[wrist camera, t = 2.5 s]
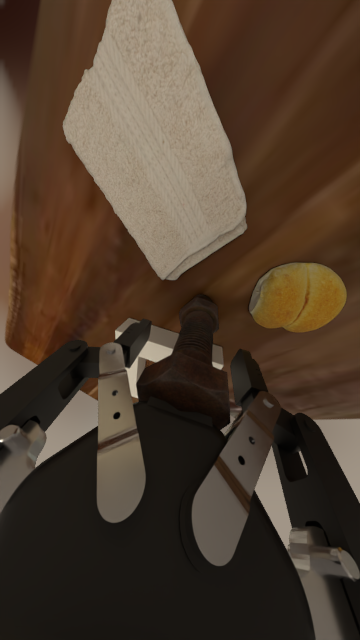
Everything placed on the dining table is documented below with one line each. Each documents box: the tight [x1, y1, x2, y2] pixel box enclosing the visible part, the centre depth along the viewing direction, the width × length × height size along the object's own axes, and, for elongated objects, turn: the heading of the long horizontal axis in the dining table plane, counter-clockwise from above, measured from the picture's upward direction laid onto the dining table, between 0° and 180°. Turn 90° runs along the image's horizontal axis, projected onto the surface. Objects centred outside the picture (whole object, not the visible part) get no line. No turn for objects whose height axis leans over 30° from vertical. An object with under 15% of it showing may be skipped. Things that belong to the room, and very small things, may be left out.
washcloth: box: [63, 0, 247, 280], centre depth 14 cm, size 12×18×3 cm, turn 35°
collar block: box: [115, 318, 223, 398], centre depth 27 cm, size 17×17×4 cm
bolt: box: [136, 295, 230, 430], centre depth 14 cm, size 6×5×15 cm
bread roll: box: [249, 263, 347, 332], centre depth 16 cm, size 8×9×4 cm
